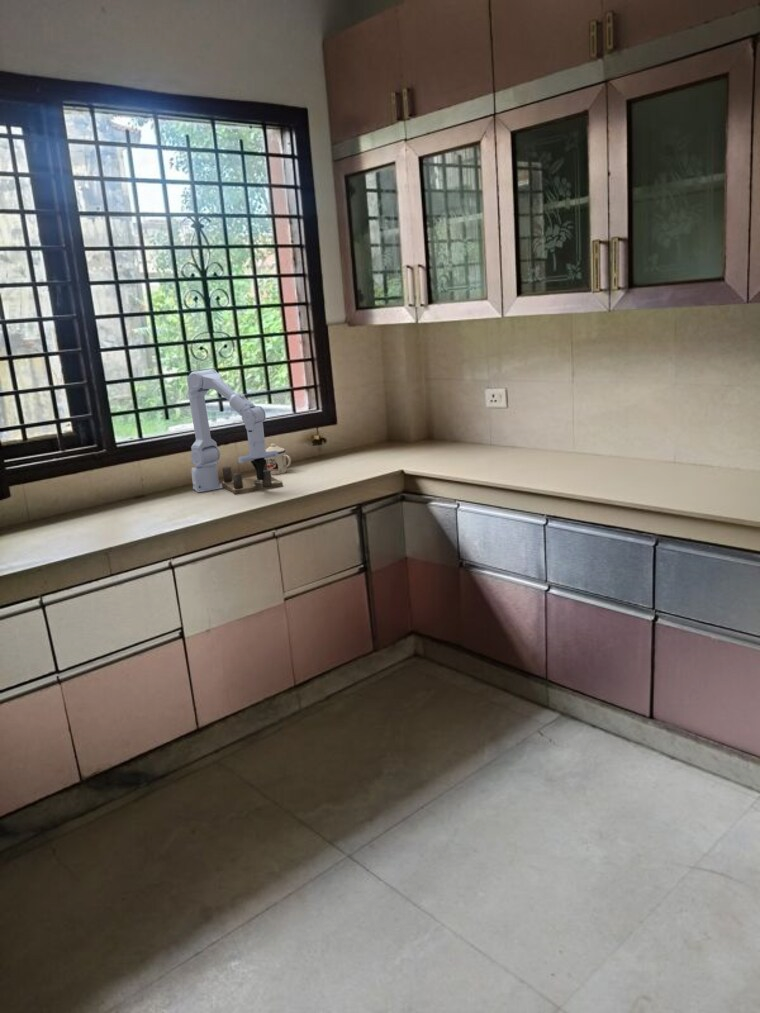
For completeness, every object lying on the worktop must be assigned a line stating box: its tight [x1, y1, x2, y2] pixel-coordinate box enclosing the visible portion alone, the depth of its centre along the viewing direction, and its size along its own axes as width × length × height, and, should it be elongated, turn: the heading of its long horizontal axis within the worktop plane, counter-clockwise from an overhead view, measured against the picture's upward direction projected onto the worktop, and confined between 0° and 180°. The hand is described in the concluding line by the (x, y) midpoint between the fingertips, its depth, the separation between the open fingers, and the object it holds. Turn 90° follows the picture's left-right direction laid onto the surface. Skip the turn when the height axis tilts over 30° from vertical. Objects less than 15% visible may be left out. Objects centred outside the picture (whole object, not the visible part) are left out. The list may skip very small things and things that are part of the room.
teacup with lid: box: [265, 443, 292, 476], centre depth 308 cm, size 12×9×12 cm
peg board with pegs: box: [221, 462, 284, 495], centre depth 288 cm, size 18×18×7 cm
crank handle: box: [254, 470, 272, 488], centre depth 278 cm, size 10×3×6 cm, turn 40°
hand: (260, 479), depth 275 cm, fingers closed, pressing on crank handle
